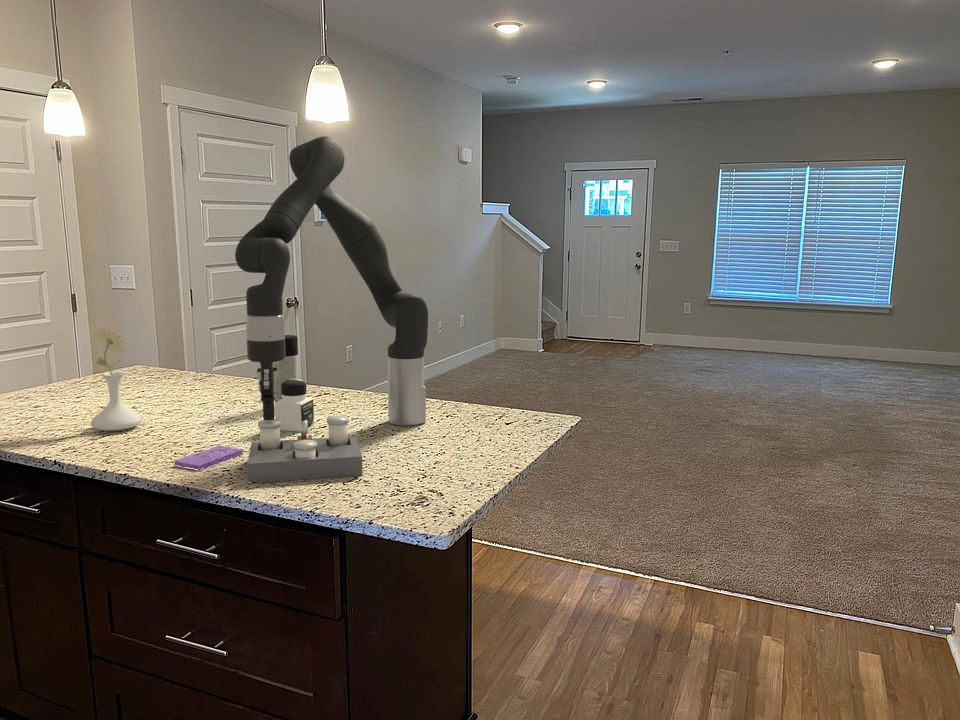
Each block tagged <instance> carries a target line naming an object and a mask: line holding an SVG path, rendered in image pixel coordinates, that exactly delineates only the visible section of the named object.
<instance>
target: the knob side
mask: <svg viewBox="0 0 960 720" xmlns="http://www.w3.org/2000/svg"><path fill="white" fill-rule="evenodd" d="M316 447H317V442H316V441H314V440H300V441H296V442H294V443H293V448H294V449H295V458H310V457H316V451H315V448H316Z"/></svg>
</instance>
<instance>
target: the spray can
mask: <svg viewBox="0 0 960 720" xmlns="http://www.w3.org/2000/svg"><path fill="white" fill-rule="evenodd" d="M298 345H299V343H298V336H297V335H293V334H292V335H291V334H285V352H286V357H285V359H284V360H281V361H274V362H273V368H274V367H277V378H276V383H277V387H276V392H275V401H274V403H275V402H277V401H279V400H281V399H283V398H282V394H281V384H282V382H284V381H286V380H293V379H297V380H300V374H299V373H300V372H299V348H298Z"/></svg>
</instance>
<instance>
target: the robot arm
mask: <svg viewBox="0 0 960 720" xmlns="http://www.w3.org/2000/svg"><path fill="white" fill-rule="evenodd" d="M288 158H289V159H288V160H289V164H290V165H289V166H290V168H291V170H292V172H293V175H294V177H295V178H296V179H295V180H294V181H293V182H291V184H290V185H289V186H287V188H285V190H284V191H283V192H282V193H280V194H279V196H278V197H277V198H276V199H274V200H275V201H274V202H273V203H272V204H271V206H270V207H269V209H268V211H267V213H266V214H265V216H264V218H263V219H262V220H261V221H260V222H257V224H255V226H254V227H252V228H251V229H250V230H248V231H247V232H246V233H245V234H244V235H243V236H242V237H241V239H240V240H239V241H238V243H237V245H236V249H235V253H234V255H235V256H234V257H235V262H236V264H237V266H238V268H239V269H241V270H242V271H244V272H246V273H251V274H264V279H263V281H262V283H260V284H256V285H251V286H249V287H248V288H247V290H246V292H245V293H246V296H245V298H246V299H245V301H246V325H245V326H246V327H245V329H246V330H245V332H246V333H245V334H246V353H247V360H249V361H250V362H252V363H259V364H260V367H257V370H256V379H257V380H258V392H259V393H260V401H261V403H262V416H263V419H262V420H274V419H275V392H276V387H277V383H276V378H277V367H274V361H281V360H284V359H285V357H286V352H285V335H286V332H285V331H286V328H285V327H286V326H285V325H286V324H285V321H284V320H285V319H284V312H283V311H284V307H283V305H284V303H283V300H284V299H283V295H284V289H285V285H286V284H285V283H286V280H287V275H288V272H289V268H290V262H291V254H290V249H289V247H288V245H287V244H289V243H291V242H292V241H293V239H294V238H295V236H296V235H297V233H298V231H299V229H300V228H301V226H302V224H303V223H304V220H305V218H306V217H307V215H308V214H309V213H310V211H311V210H312V208H313V207H314V205H316V206H317V208H318V210H320V212H321V214H322V215H323V216H324V218H325V220H326V221H327V223H328V225H329V226H330V228H331V229H332V230H333V232H334V234H335V236H336V237H337V239H338V241H339V243H340V244H341V247H342V248H343V249H344V251H345V253H346V255H347V257H348V258H349V259H350V260H351V262H352V264H353V266H354V267H355V268H356V270H357V272H358V274H359V275H360V277H361V278H362V280H363V281H364V283H365V284H366V286H367V288H368V289H369V291H370V293H371V295H372V297H373V300H374V302H375V303H376V305H377V307H378V310H379V313H380V315H381V316H382V318H383V320H384V321H385V323H386V324H388V325H389V326H390V327H392V328H394V329H395V337H394V341H393V342H392V343H390V344H389V345H388V347H387V395H388V397H387V399H388V402H387V403H388V404H387V406H388V407H387V409H388V412H387V414H388V415H387V416H388V423H389V424H391V425H393V426H394V425H395V426H415V425H421V424H426V423H427V421H426V420H427V414H426V413H427V412H426V411H427V407H426V406H427V404H426V403H427V401H426V400H427V390H426V386H425V350H426V347H427V344H428V334H429V333H428V331H429V311H428V305H427V303H426V301H425V299H424V298H423V297H421V296H419V295H417V294H414V293H413V294H412V293H406V292H405V291H404V289H402V288H401V286H400V285H399V283H398V281H397V280H396V278H395V276H394V275H393V273H392V270H391V268H390V263H389V256H388V250H387V246H386V244H385V242H384V239H383V237H382V236H381V234H380V232H379V230H378V229H377V226H376V225H375V223H374V222H373V220H372V219H371V218H370V217H369V216H368V215H367V214H365V213H364V212H363V211H361V210H360V209H358V208H357V207H355V206H354V205H353V204H351V203H349V202H348V201H347V200H346V199H344V198H343V197H341V196H340V195H339V193H338V192H337V191H336V190H335V188H334V187H333V186H332V182H334V181H335V179H336V178H337V177H338V176H339V175H340V174H341V173H342V171H343V169H344V166H345V154H344V151H343V149H342V147H341V144H340V143H339V142H338V141H337V140H336V139H334V138H332V137H330V136H326V135H324V136H319V137H315V138H314V139H310V140H309V141H306V142H303V143H302V144H300V145H297V146H295V147H294V148H292V149H291V151H290V153H289V157H288Z"/></svg>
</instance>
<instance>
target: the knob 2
mask: <svg viewBox="0 0 960 720" xmlns="http://www.w3.org/2000/svg"><path fill="white" fill-rule="evenodd" d="M349 420H350V417H348V416H347V415H332V416H328V417H326V423H327V425H328V438H329V446H342V445H348V437H349V435H348V434H349V431H348V424H349V423H350V421H349Z"/></svg>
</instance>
